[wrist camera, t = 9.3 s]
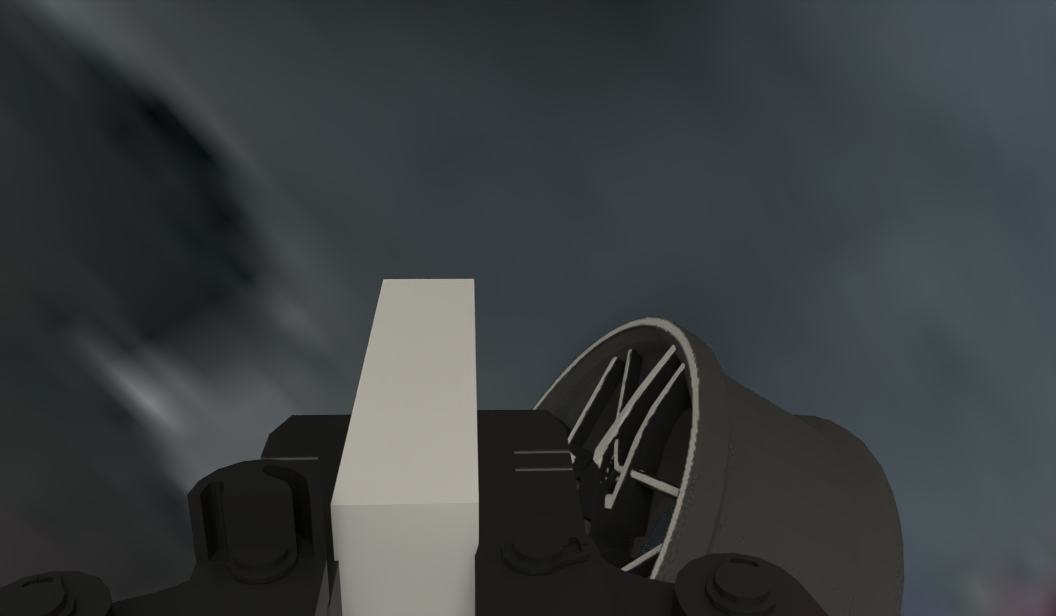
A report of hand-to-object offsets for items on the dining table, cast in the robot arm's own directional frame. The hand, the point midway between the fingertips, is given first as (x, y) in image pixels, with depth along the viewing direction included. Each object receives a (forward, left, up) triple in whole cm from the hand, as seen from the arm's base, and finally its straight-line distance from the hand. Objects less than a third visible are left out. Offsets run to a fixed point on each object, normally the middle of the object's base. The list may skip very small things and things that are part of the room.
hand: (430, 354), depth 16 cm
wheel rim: (+17, +9, -27) cm, 34 cm away
